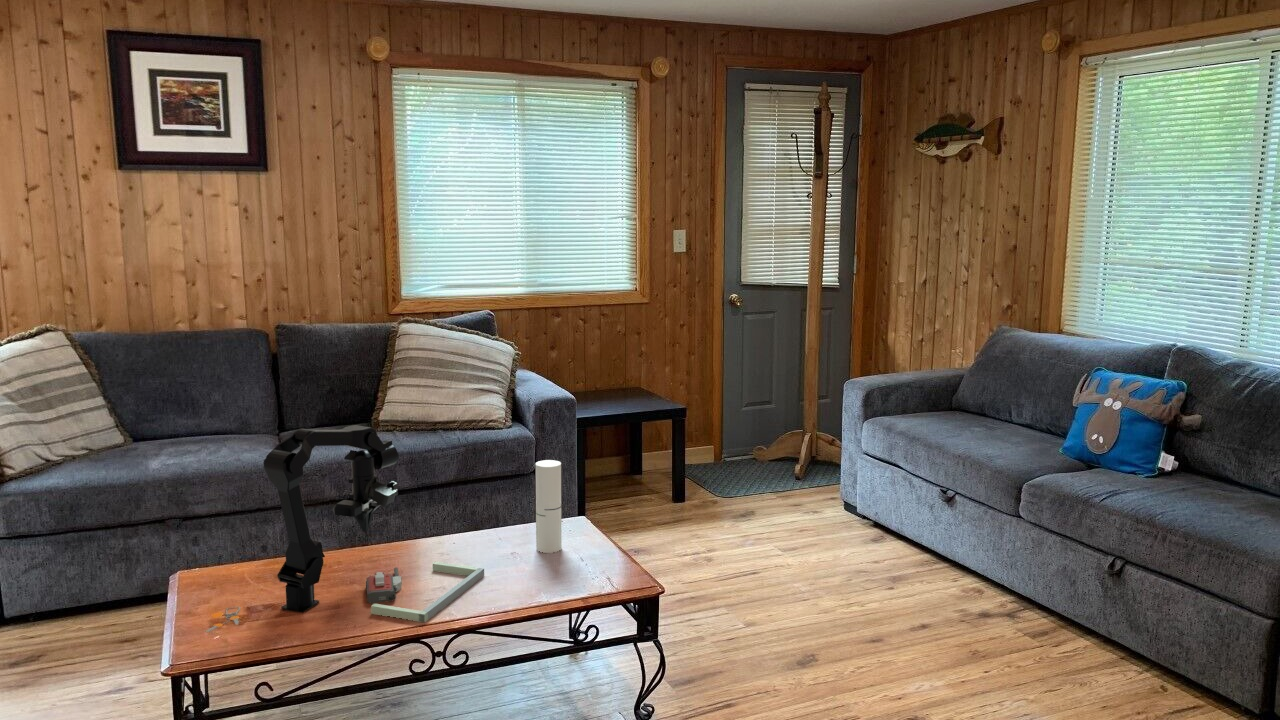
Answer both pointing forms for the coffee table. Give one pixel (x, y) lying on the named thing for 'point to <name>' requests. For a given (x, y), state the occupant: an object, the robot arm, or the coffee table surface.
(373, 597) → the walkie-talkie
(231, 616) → the key chain
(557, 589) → the coffee table surface
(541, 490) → the cylindrical container
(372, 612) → the green u-shaped bracket
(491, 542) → the coffee table surface
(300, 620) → the coffee table surface
